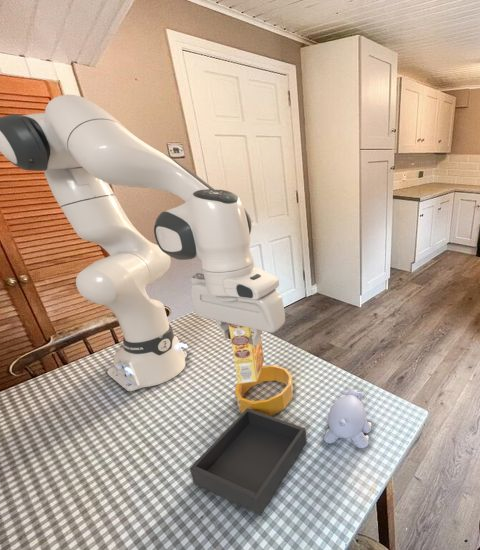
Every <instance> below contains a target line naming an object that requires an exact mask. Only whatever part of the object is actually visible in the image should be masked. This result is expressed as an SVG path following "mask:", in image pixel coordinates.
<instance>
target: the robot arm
mask: <svg viewBox="0 0 480 550" xmlns="http://www.w3.org/2000/svg"><path fill="white" fill-rule="evenodd" d="M0 153H1V154H2V155H3V157H5V158H6V159H7V160H8V161H9V162H10V163H11V164H12V165H13V166H15V167H17V168H20V169H22V171H23V170H24V171H30V172H32V171H33V172H43V173H44V176H45V179H46V181H47V184H48V187H49V189H50V191H51V194H52V195H53V197H54V199H55V201H56V202H57V204H58V206H59V207H60V209H61V211H62V212H63V214H64V216H65V217H66V219H67V221H68V222H69V224H70V225H71V227H72V228H73V230H74V232H75V233H76V235H77V236H78V237H79V238H80V239H81V240H84V241H87V242H89V243H90V242H91V243H94V244H97V245H98V246H100V247H101V248H102V249H103V250H104V251H106V252H107V254H108V255H109V256H106V257H103V258H101V259H98V260H95V261H93V262H92V263H91V264H89V265H88V266H87V267H85V268H84V269H82V270H80V271H79V273H78V274H77V275H76V277H75V278H76V279H75V285H76V286H75V287H76V289H77V291H78V293H79V294H80V296H82V297H83V298H84V299H85V300H86V301H88V302H90V303H93V304H95V305H101V306H104V307H106V308H107V309H108V310H109V311H110V312H112V314H113V315H114V316H115V318H116V320H117V322H118V325H119V327H120V329H121V332H122V335H120V340H121V341H122V347H121V348H120V349H118V350H117V351H116V352H115V353H114V355H113V362H114V363H113V364H112V366H110V367H109V369H108V370H107V371H106V372H107V375H108V376H109V377H110V378H111V379H113V380H114V381H115V382H116V383H117V384H119V385H120V386H121V387H122V388H123V389H125V390H126V391H127V392H134V391H136V390H139V389H143V388H147V387H148V388H149V387H154V386H158V385H161V384H164V383H166V382H168V381H170V380H172V379H174V378H175V377H176V376H178V375H179V374H181V373H182V371H184V369H185V368H186V365H187V361H186V358H187V356H188V354H187V351H184V350H183V349H182V348H185V349H187V348H188V344H185V343H181V342H180V341H179V339H178V337H177V336H176V335H175V334H174V329H173V328H172V327H173V326H172V325H171V324H170V322H169V319H168V315H167V312H166V307H165V305H164V304H163V303H162V301H160V300H158V299H154V298H151V297H150V296H149V295H148V292H147V289H146V287H147V286H148V285H150V284H152V283H153V282H155V281H157V280H159V279H161V277H162V276H163V275H164V274H166V272H167V271H168V270H169V269H170V268H171V264H172V259H171V258H173V259H175V260H178V261H185V260H193V259H198V260H200V261H201V268H202V273H201V272H196V273H195V274H194V275H192V277H191V279H190V282H191V289H190V297H191V305H192V311H193V312H194V314H195V315H196V316H197V317H199V318H203V319H208V320H212V321H215V324H216V326H217V327H218V328H219V330H220V331H221V332H222V337H223V339H227V340H231V337H230V331H229V324H228V323H230V324H234V325H239V326H243V327H248V328H251V332H254V333H253V335H252V336H250V337H249V338H248V339H249V341H250V342H249V344H251V345H255V346H257V345H258V344H259V343H260V342H261V340H262V337H261V338H260V335H261V336H262V332H266V333H270V334H273V333H275V332H276V331H278V330H279V329H280V328H281V327H282V326H284V324H285V322H286V311H285V306H284V301H283V297H282V295H281V292H280V291H279V290H278V289H277V288H279V285H280V281H279V278H278V277H277V276H275V275H274V274H271V273H270V272H268V271H266V270H264V269H262V268H260V267H259V266H258V265H255V262H254V257H253V256H252V253H251V249H250V246H251V245H250V243H251V232H252V219H251V217H250V214H249V212H248V211H247V210H246V208H245V207H244V205H243V203H242V200H241V199H240V196H239V195H237V194H235V193H234V192H232V191H229V190H225V189H215V188H213V186H212V185H210V184H208V183H207V181H204V180H203V179H202V178H200V176H198V175H197V174H195V173H194V172H193V171H192V170H190V169H189V168H188V167H186V166H185V165H183V164H182V163H181V162H179V161H178V160H176V159H175V158H173V157H171V156H169V155H167V154H165V153H163V152H161V151H160V150H158V149H156V148H154V147H152V146H150V145H149V144H148V143H146V142H145V141H143V140H142V139H141V138H139V137H137V136H136V135H135V134H134V133H132V132H131V131H129V129H127V128H126V127H125V126H124V124H122V123H121V122H120V121H119V120H117V118H115V116H113V115H112V114H111V113H109V112H108V111H107V110H105V109H104V108H102V107H101V106H99V105H98V104H96V103H95V102H93V101H91V100H89V99H88V98H85V97H84V96H81V95H75V94H61V95H57V96H55V97H53V98H52V99H51V100H50V101H48V103H47V104H46V107H45V110H44V112H40V113H39V112H37V113H28V114H22V115H21V114H17V113H12V114H9V115H4V116H0ZM110 185H112V186H118V187H126V188H127V187H128V188H140V189H141V188H142V189H151V190H158V191H163V192H166V193H170V194H173V195H175V196H177V197H178V198H180V199H181V200H182V201H184V203H182V204H180V205H178V206H176V207H173V208H169V209H168V210H165V211H161V212H160V213H159V215H158V216H157V217H156V219H155V222H154V224H153V225H154V226H153V234H154V238H155V242H156V243H153V242H151V241H150V240H148V239H147V238H146V237H145V236H144V235H143V234H141V233H140V231H139V230H138V229H137V228H136V227H135V226H134V225H133V223H132V222H131V221H130V220H129V219H130V218H129V217H128V216H127V213H125V211H124V209H123V207H122V205H121V204H120V202H119V200H118V198H117V197H116V195H115V193H114V191H113V189H112V188H111V186H110Z"/></svg>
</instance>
